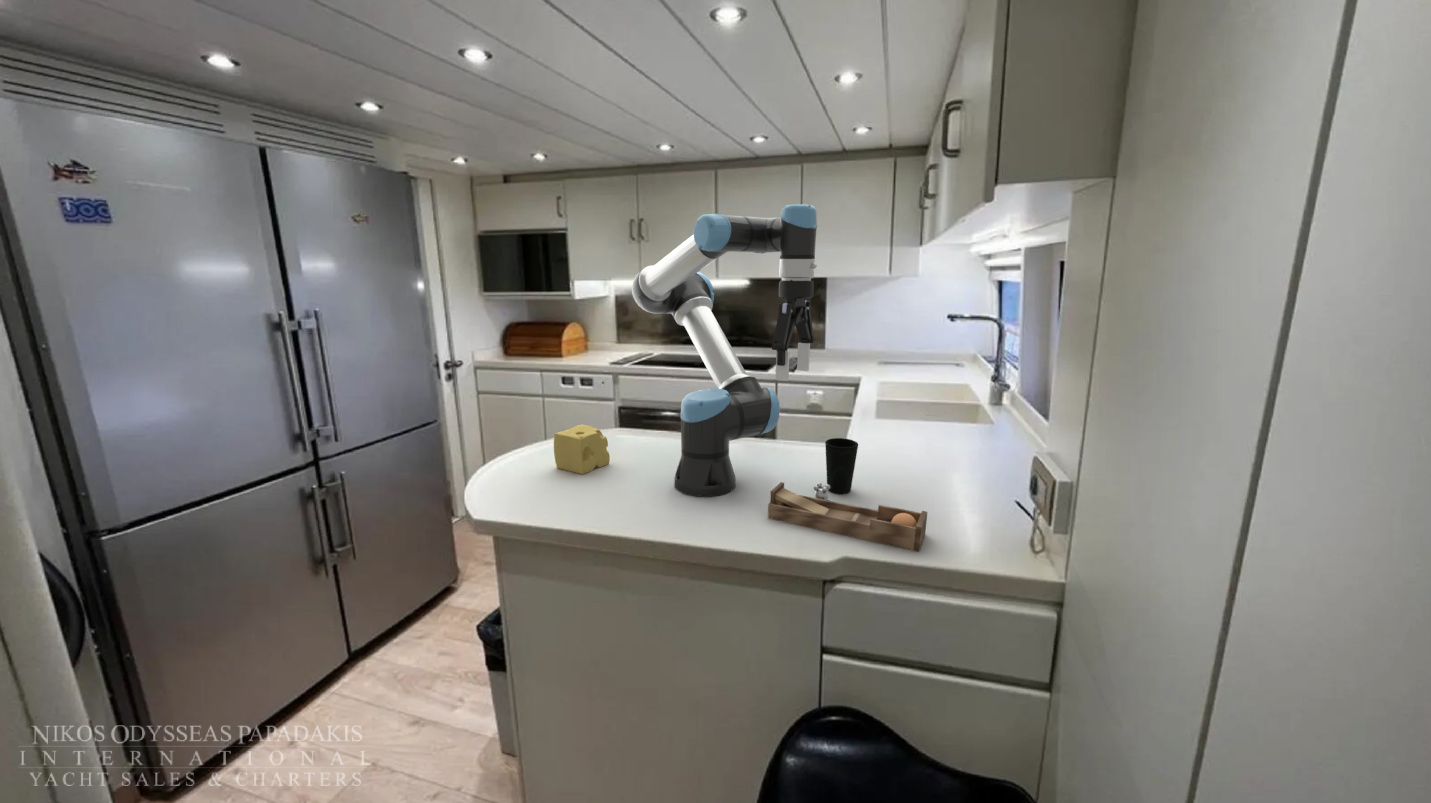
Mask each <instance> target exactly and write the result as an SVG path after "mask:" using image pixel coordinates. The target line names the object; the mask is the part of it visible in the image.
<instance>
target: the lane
mask: <svg viewBox="0 0 1431 803" xmlns="http://www.w3.org/2000/svg"><path fill="white" fill-rule="evenodd" d="M769 499H770V500H769V501H770V502H769V503H768V509H767V511H768V512H767V518H768V519H770V520H776V521H779V522H784V523H789V524H792V525H798V526H803V527H808V528H812V529H815V530H821V531H825V532H829V533H833V534H837V535H843V536H847V537H853V538H856V539H860V540H866V541H869V542H874V543H878V544H883V545H888V546H892V547H896V548H900V547H901V549H905V550H911V551H914V552H918V553H919V552H920V550H921V547H922V545H923V542H924V539H925V536H926V530H927V529H926V528H927V522H928V520H927V519H928V511H926V510H921V512H918V511H914V510H908V509H904V508H898V507H893V506H887V505H881V504H878V507H877V509H872V508H868V507H862V506H856V505H852V504H847V503H842V502H837V501H832V500H829V499H828V500H829V501H828V500H822V499H817V498H815V497H812V496H807V495H801V494H798V493H794V492H793V491H791V490H789V489H787V488H785V482H782V481H781V482H779V483H778V484H777V485H776V486H774V488H772V490H770V497H769ZM899 513H907V514H910V515H911V516H913V517H914V519H915V520H916V522H917V525H916V527H911V526H906V525H901V524H896V523H892V522H891V521H892V519H893V517H894V516H895V515H897V514H899Z"/></svg>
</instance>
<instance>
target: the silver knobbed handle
mask: <svg viewBox="0 0 1431 803" xmlns="http://www.w3.org/2000/svg"><path fill="white" fill-rule="evenodd" d="M828 489H830V485H829V484H827V483H826V484H825V486H823V485H822V483H821V482H817V483H816V485H814V486H813V490H814V491H815V495H814V498H817V499H822V500H828V501H830V500H829V491H828Z"/></svg>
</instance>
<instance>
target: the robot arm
mask: <svg viewBox="0 0 1431 803" xmlns="http://www.w3.org/2000/svg"><path fill="white" fill-rule="evenodd" d="M817 223H818V222H817V209H816V207H815V206H814V205H812V204H811V205H810V204H803V203H802V204H799V203H798V204H786V205H784V206H782V207H781V212H780V216H779V217H759V216H755V217H754V216H741V215H728V214H721V213H711V214H709V213H708V214H707V213H706V214H702V215H701V216H699V217H698V219H697V220H696V223H695V224H694V227H693V234H692V235H691V236H689V237H688V238H687V239H686V240H684V241H682V243H680V244H679V245H678V246H677V247H675V248H674V249H673V250H671V252H669V253H667V254H666V256H664V257H662V259H660V260H659V261H658V262H657V263H655V264H654V265H652V264H651V265H648V266H646V267H644V268H643V269H642V270H640V271H639V272H638V273H637V274H636V275H635V277H634V279H633V281H632V283H631V284H632V286H631V292H632V293H631V294H632V298H633V300H634V301H635V303H636V304H637V305H638V307H640V309H642V310H643V311H645V312H647V313H651V314H655V315H656V314H657V315H659V314H661V315H662V314H666V315H667V314H671V315H672V317H673V319H674V320H675V322H676V324H677V325H678V326H683V327H684V328H685V330H686V331H687V334H688V335H689V337H690V340H691V342H692V343H693V345H694V347H695V348H696V351H697V353H698V354H699V356H700V357H701V360H702V362H703V363H704V364H703V365H704V366H705V367H706V370H707V371H708V373H709V375H710V377H711V379H712V381H713V383H714V384H715V386H716V388H714V387H713V388H709V389H708V388H704V389H698V390H695V391H692V392H690V393H688V394H686V395H685V396H684V397H683V399H682V401H681V404H680V405H681V406H680V413H679V414H680V415H679V416H680V433H681V435H680V437H681V438H680V444H681V445H680V446H681V447H680V448H681V449H680V450H681V454H680V455H681V456H680V459H679V461H678V464H677V468H676V471H675V474H674V488H675V489H676V491H678V492H681V493H682V494H685V495H689V496H693V497H715V496H716V497H717V496H722V495H726V494H728V493H730V492H732V491H733V490H735V488H736V484H737V483H736V479H737V477H736V474H735V470H734V468H733V464H732V461H731V457H730V441H734V440H740V439H745V438H749V437H755V436H761V435H763V434H766V433H769V432H771V431H773V430H774V429H775V428H776V426H777V424H778V422H779V420H780V413H781V404H780V401H779V397H778V395H777V393H776V392H775V391H774V390H773V389H772V388H769V387H765V386H763V387H762V385H760V383H759V381H758V379H757V377H756V376H754V375H750V374H748V373H747V372H746V370H745V368H744V367H743V365H742V363H741V362H740V359H739V358H738V356H737V354H736V352H735V351H734V349H733V347H732V345H731V343H730V342H729V341H728V338H727V337H726V334H725V333H724V331H723V330H722V328H721V326H720V324H719V323H718V321H717V318H716V317H715V315H714V313H713V312H712V310H713V307H714V305H713V304H714V300H715V293H714V292H713V291H714V285H713V283H712V281H711V280H710V279H709V277H708V276H706V275H705V274H704V273H702V272H700V271H701V270H703V269H704V268H706V267H707V266H708V265H710V264H712V263H713V262H714V261H716V260H718V259H719V258H721V257H722V256H724V255H725V254H727V253H729V252H733V253H734V252H737V253H738V252H739V253H740V252H741V253H742V252H744V253H745V252H746V253H755V254H765V253H780V254H779V273H778V276H779V279H781V280H780V281H779V282H778V297H779V298H781V299H785V302H780V303H779V305H778V315H777V319H776V325H775V331H774V334H773V338H772V343H771V344H772V345H771V350H773V351H776V354H775V355H776V358H775V363H776V364H775V380H776V381H783V382H788V381H789V377H790V376H789V374H790V350H789V346H790V344H791V340H792V336H793V333H794V330H795V329H796V332H797V337H798V340H799V342H798V343H797V361H796V371H800V372H801V371H803V372H809V371H810V357H811V356H810V355H811V354H810V352H811V351H810V350H811V344H814V343H815V337H814V336H815V334H814V329H813V321H812V320H813V319H812V318H813V317H812V311H811V310H812V309H811V308H812V307H811V300H806V299H812V298H813V297H814V289H815V288H814V285H815V284H814V283H815V282H814V281H813V280H812V279H813V278H814V277H815V276H814V275H815V269H816V268H817V267H818V266H817V264H816V262H815V259H816V257H815V256H816V243H817V242H816V241H817V240H816V239H817V238H816V237H817V228H818V224H817Z"/></svg>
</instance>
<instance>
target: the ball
mask: <svg viewBox="0 0 1431 803" xmlns="http://www.w3.org/2000/svg"><path fill="white" fill-rule="evenodd" d="M891 522H892V523H896V524H901V525H906V526H911V527H916V525H917V522H916V520H915V519H914V517H913V516H911V515H910V514H907V513H899V514H897V515H895V516H894V517H893V519H892V521H891Z"/></svg>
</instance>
